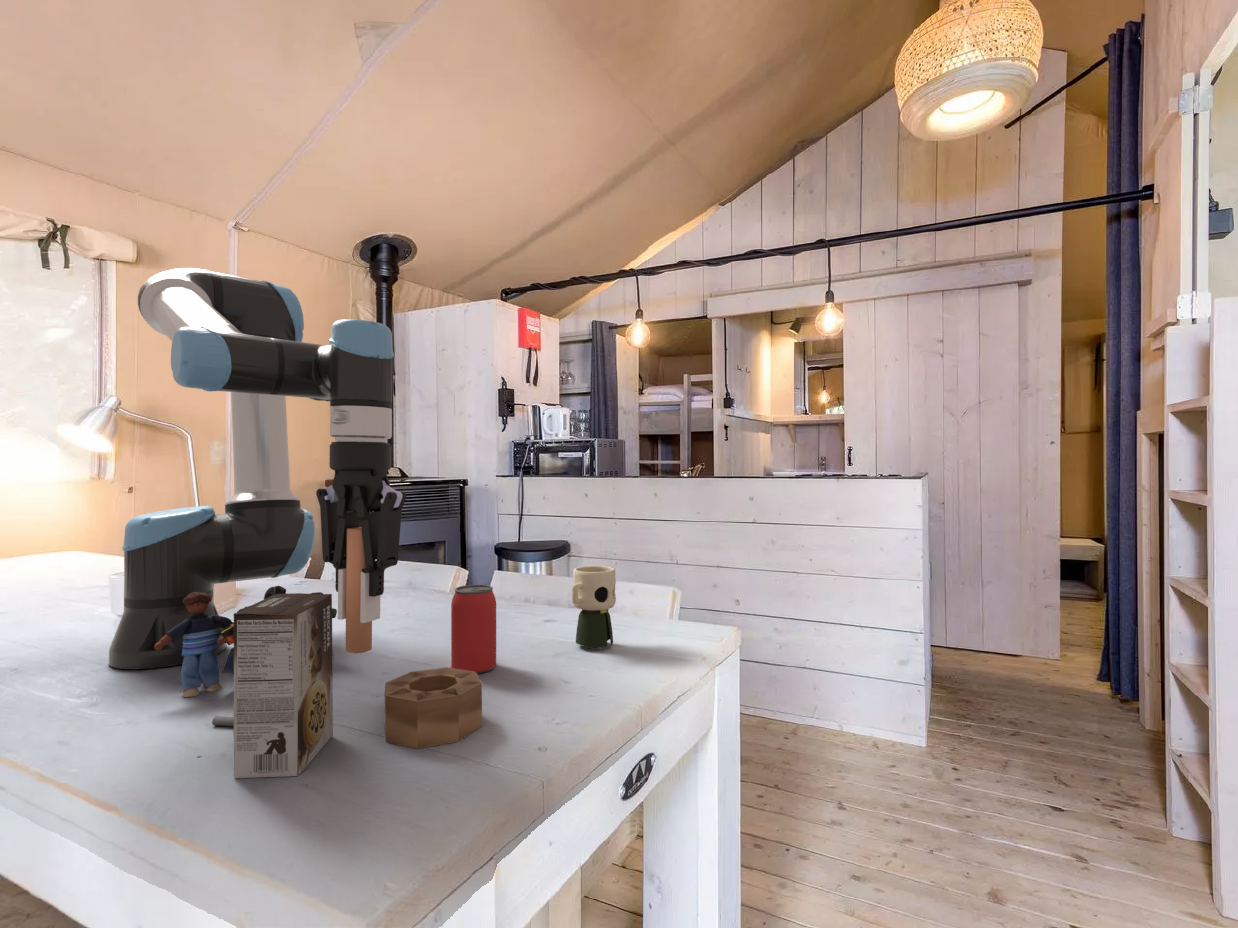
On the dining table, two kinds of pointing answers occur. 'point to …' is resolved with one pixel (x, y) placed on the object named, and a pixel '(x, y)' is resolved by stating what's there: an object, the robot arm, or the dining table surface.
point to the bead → (432, 707)
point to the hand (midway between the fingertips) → (359, 618)
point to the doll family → (206, 643)
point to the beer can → (473, 628)
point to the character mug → (594, 604)
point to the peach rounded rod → (355, 595)
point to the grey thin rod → (223, 721)
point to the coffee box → (282, 684)
